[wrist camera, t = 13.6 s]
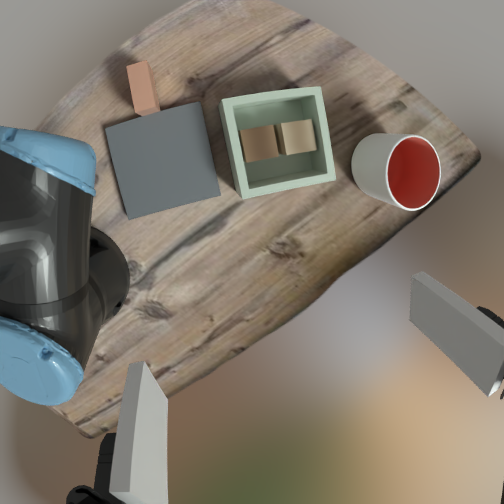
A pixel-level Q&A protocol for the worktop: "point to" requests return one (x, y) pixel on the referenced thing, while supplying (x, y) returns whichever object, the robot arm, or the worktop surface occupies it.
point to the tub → (285, 166)
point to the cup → (397, 169)
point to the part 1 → (258, 143)
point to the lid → (160, 151)
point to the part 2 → (295, 137)
